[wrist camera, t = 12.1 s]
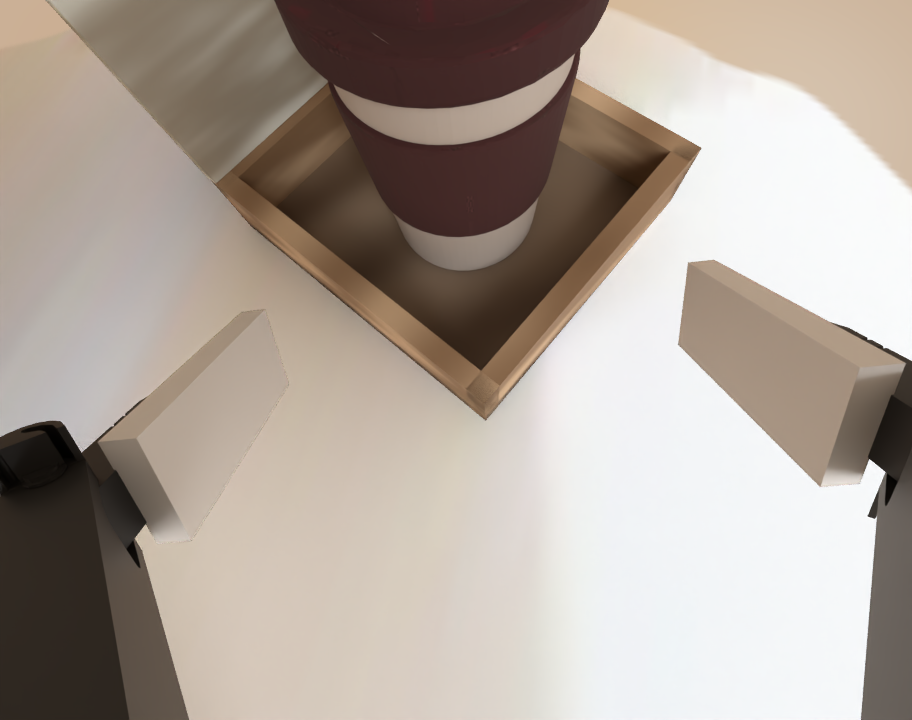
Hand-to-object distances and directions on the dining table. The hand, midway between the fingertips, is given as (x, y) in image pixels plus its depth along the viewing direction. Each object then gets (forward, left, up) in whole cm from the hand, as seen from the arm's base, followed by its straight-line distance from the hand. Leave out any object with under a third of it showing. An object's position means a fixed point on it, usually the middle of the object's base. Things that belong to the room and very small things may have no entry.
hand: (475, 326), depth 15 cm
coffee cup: (-7, +7, -8) cm, 13 cm away
